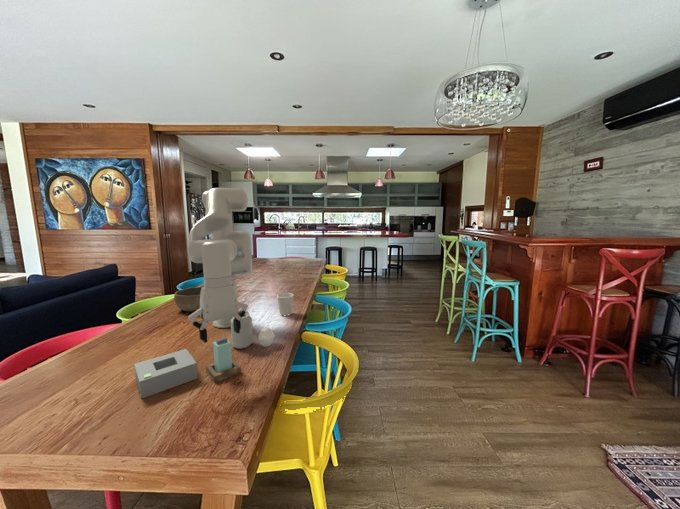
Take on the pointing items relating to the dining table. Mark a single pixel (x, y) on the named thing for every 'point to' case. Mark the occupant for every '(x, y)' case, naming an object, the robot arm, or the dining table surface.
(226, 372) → the square wooden frame
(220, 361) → the plug
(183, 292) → the bowl
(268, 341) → the white rounded lump
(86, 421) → the dining table surface
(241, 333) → the can
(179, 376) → the port block
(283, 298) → the dixie cup
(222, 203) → the robot arm
